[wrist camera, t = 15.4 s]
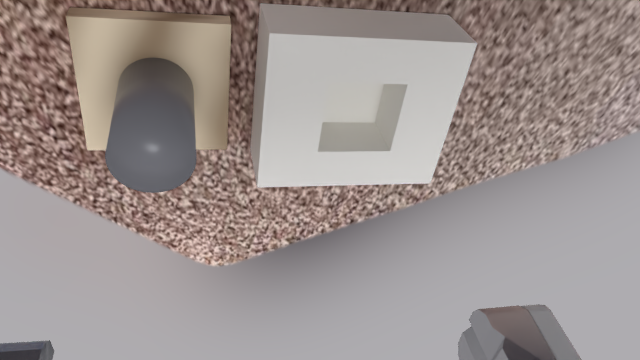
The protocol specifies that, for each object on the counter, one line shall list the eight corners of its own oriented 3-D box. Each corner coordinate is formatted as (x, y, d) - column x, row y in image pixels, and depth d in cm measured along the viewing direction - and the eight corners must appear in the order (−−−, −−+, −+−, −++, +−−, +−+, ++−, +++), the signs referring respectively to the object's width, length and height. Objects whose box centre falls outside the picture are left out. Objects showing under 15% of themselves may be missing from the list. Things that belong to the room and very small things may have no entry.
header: (448, 14, 39) (477, 43, 35) (409, 147, 46) (430, 183, 42) (259, 3, 36) (269, 33, 32) (250, 148, 43) (257, 187, 39)
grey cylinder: (193, 58, 35) (196, 122, 29) (193, 121, 38) (196, 191, 32) (114, 56, 34) (100, 122, 28) (121, 121, 37) (110, 193, 31)
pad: (229, 15, 36) (231, 24, 35) (225, 138, 42) (227, 149, 41) (69, 7, 33) (65, 16, 32) (90, 138, 39) (87, 150, 38)
